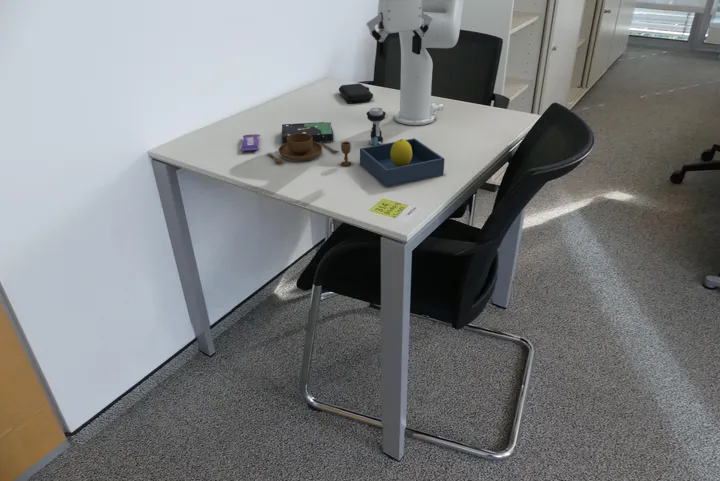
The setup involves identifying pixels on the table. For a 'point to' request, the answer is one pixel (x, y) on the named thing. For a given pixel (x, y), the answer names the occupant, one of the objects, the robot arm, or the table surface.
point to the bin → (389, 175)
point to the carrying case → (355, 93)
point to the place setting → (307, 149)
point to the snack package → (250, 142)
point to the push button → (376, 125)
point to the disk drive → (309, 131)
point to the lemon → (401, 153)
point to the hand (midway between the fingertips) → (399, 55)
